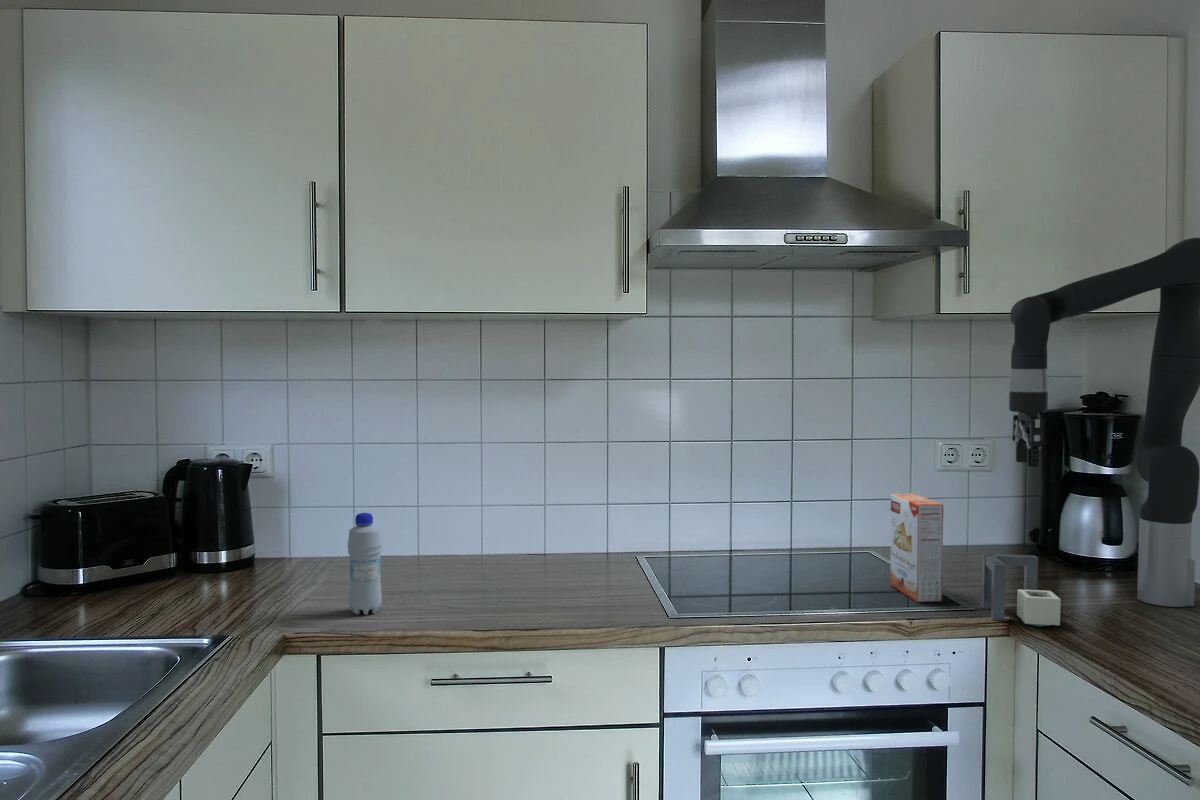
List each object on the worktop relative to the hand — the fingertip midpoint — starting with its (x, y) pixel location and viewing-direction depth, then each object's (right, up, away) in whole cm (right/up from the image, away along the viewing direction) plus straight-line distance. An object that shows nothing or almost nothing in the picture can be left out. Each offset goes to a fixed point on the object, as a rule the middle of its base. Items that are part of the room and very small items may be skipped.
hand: (1027, 464), depth 190 cm
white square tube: (-9, -28, -22) cm, 37 cm away
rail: (-11, -29, -16) cm, 35 cm away
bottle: (-140, -29, -15) cm, 143 cm away
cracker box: (-25, -28, -1) cm, 38 cm away
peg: (-9, -29, -22) cm, 37 cm away
